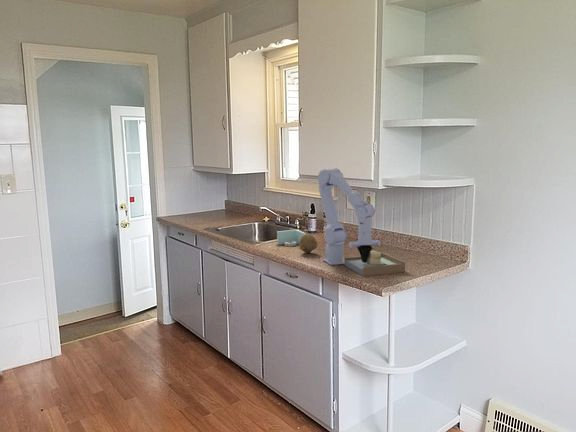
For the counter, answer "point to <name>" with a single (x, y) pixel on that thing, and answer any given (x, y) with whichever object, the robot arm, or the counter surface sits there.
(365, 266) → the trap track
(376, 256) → the wood block
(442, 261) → the counter surface
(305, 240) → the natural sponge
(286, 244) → the l-shaped corner panel
